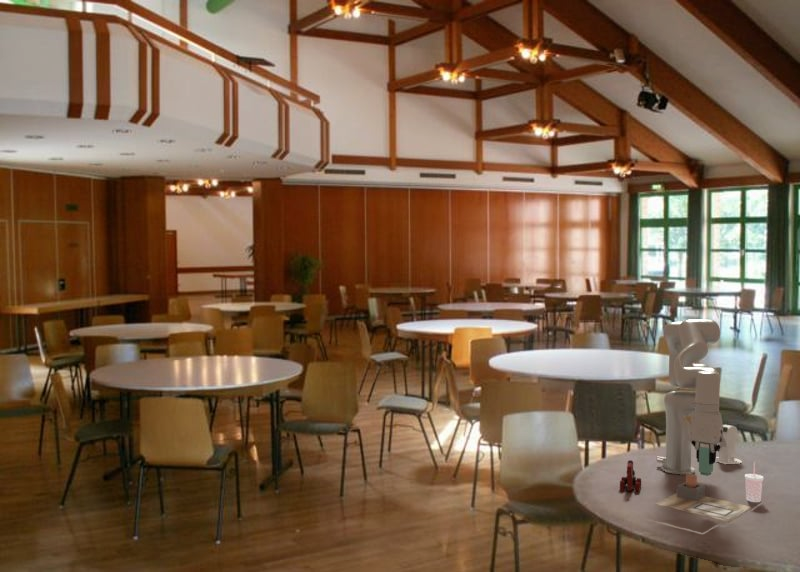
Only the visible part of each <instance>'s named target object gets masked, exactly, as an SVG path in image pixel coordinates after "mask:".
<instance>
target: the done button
mask: <svg viewBox="0 0 800 572" xmlns="http://www.w3.org/2000/svg"><path fill="white" fill-rule="evenodd" d="M697 476H698V475H697V474H694V473H693V474H687V475H685V482H686V487H691V488H696V487H697V484H698V477H697Z"/></svg>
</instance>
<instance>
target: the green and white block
mask: <svg viewBox="0 0 800 572" xmlns="http://www.w3.org/2000/svg"><path fill="white" fill-rule="evenodd" d="M710 452H711V448H710V444H709V443H703V442H702V443H700V447H699V462H698V472H699V473H700V475H702V476H708V477H709V476H710V475H712V473H713V471H714V463H713V464H709V453H710Z"/></svg>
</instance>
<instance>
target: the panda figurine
mask: <svg viewBox="0 0 800 572" xmlns="http://www.w3.org/2000/svg"><path fill="white" fill-rule="evenodd" d="M738 430H739V424H738V423H733V422H728V424H723V437H724V439H725V441H726V443H727V445H726V446H724V447H722V448H720V449H719V450H718V451H717V452H718V456H716V458H719V461H722V462H726V463H728V459H731V460H730V462H731V461H732V462H736V461H737V462H736V463H735V464H738V465H741V464H742V463H743V461H742V460H741V459H739V458H735V456H736V446H737V445H738V441H739V431H738ZM720 443H721V442H719V443H717V445H719V444H720ZM740 463H741V464H740Z"/></svg>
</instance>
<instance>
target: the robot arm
mask: <svg viewBox="0 0 800 572" xmlns="http://www.w3.org/2000/svg"><path fill="white" fill-rule="evenodd" d="M663 331H664V335H663V336H664V339H665V342H666V343H665V344H666V346H667V348H668V356H669V358H668V381H669V384H670V386H671V387H673V388H679V389H684V390H672V391H669V392H667V393H666V394H665V395H664V398H663V399H664V400H663V402H664V410H665V426H666V427H665V457H664V456H658V455H657V457H656V462H657V463H662V465H661V467H660V468H661V470H662V471H663V472H664V471H665V473H666V474H667V473H668V474H671V473H672V474H671V475H678V474H680V475H681V476H683V475H685V476H686V475H687V474H694V473H696V468H695V467H693V466H692V446H693V447H694V449H695V450H696V453H695V454H696V455H695V457H696V460H697V461H696V462H697V463H699V447H700V443H702V442H703V443H709V444H710V448H711V452H710V453H709V464H713V465H714V464H715V463H716V462H715V461H716V457H717V452H718V450H719V449H720V448H722V447H724V446H726V445H727V443H726V441H725V439H724V437H723V425H724V424H723V419H722V418H723V417H722V414H721V412H720V387H721V386H720V383H721V375H720V373H719V371H718V370H717V369H715V368H713V367H710V366H709V365H707V364H704V363H696V362H699V361H701V360H703V359H704V358H705V357H706V356H707V354H708V352H709V348H708V346H709V345H713V344H716V343H718V342H719V341H720V338H721V329H720V325H719V324H718V322H717V321H716V320H713V319H685V320H683V321H673V322H669V323H666V325H665V327H664V330H663ZM690 390H691V391H690ZM692 390H693V391H692ZM694 390H695V391H694ZM686 417H690V422H689V421H688V420H687V418H686ZM719 442H721V443H720V444H719V445H718V443H719ZM680 475H679V476H680Z"/></svg>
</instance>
